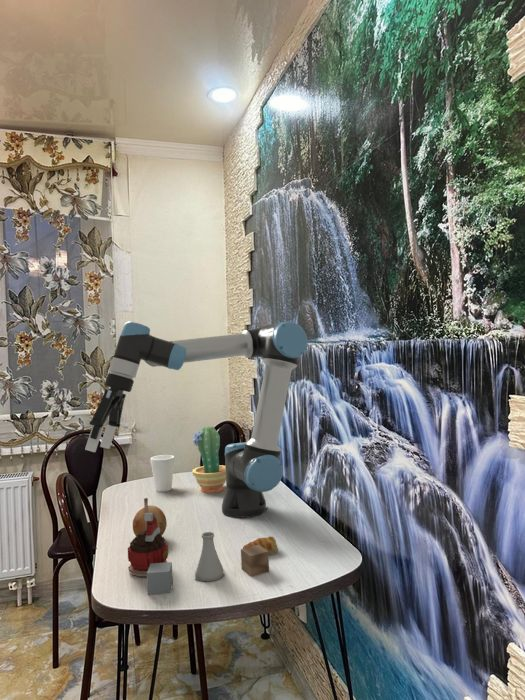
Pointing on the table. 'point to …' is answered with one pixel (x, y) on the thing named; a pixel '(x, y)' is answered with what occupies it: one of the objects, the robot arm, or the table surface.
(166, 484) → the foam cup
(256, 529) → the table surface
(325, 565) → the table surface
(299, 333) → the robot arm
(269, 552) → the pastry
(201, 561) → the flask
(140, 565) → the cake
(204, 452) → the potted cactus
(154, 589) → the slate-grey block
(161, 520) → the onion
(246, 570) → the walnut block
